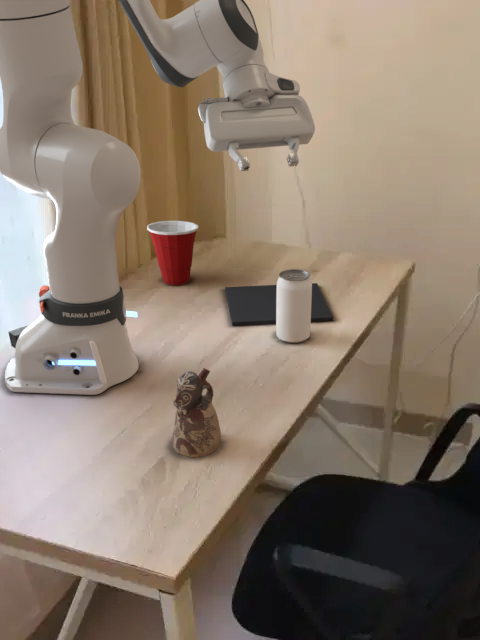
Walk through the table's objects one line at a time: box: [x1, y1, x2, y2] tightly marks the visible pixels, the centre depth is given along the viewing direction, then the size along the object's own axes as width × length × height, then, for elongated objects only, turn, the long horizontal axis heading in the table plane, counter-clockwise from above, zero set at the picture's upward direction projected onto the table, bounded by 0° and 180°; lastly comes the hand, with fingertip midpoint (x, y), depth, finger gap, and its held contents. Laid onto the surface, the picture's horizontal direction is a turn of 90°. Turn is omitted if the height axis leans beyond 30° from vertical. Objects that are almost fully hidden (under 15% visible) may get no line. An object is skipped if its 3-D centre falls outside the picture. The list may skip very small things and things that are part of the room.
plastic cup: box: [146, 220, 199, 286], centre depth 160 cm, size 11×11×12 cm
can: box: [275, 268, 313, 344], centre depth 138 cm, size 6×6×12 cm
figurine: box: [171, 367, 222, 458], centre depth 108 cm, size 7×7×12 cm
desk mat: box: [224, 282, 334, 327], centre depth 153 cm, size 20×18×1 cm
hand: (269, 166), depth 134 cm, fingers open, 8 cm apart
